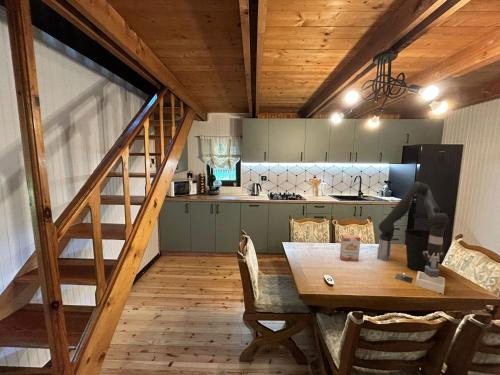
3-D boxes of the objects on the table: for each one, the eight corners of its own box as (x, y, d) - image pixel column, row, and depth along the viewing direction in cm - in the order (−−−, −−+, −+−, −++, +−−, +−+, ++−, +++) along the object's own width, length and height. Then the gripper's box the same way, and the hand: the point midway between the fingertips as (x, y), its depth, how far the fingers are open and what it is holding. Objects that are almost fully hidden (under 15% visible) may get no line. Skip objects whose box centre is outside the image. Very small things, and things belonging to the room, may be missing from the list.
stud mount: (394, 279, 173) (395, 273, 173) (396, 274, 181) (397, 268, 181) (411, 284, 167) (412, 277, 167) (412, 279, 175) (413, 272, 174)
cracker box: (341, 260, 204) (343, 236, 201) (339, 257, 210) (341, 234, 207) (358, 261, 202) (360, 237, 200) (356, 258, 208) (358, 235, 206)
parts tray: (415, 286, 164) (416, 278, 164) (417, 278, 176) (418, 271, 175) (443, 295, 155) (444, 286, 154) (443, 285, 167) (444, 277, 166)
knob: (424, 273, 167) (426, 253, 166) (432, 273, 167) (435, 253, 165) (430, 277, 162) (432, 256, 160) (438, 277, 162) (441, 256, 160)
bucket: (424, 279, 175) (429, 239, 171) (392, 263, 201) (396, 228, 197) (451, 275, 182) (457, 237, 178) (417, 260, 208) (421, 226, 205)
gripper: (442, 240, 165) (439, 264, 167) (420, 239, 166) (418, 263, 168) (450, 244, 157) (447, 269, 160) (428, 243, 158) (424, 268, 161)
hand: (432, 266), depth 164 cm, fingers closed on knob, 3 cm apart
